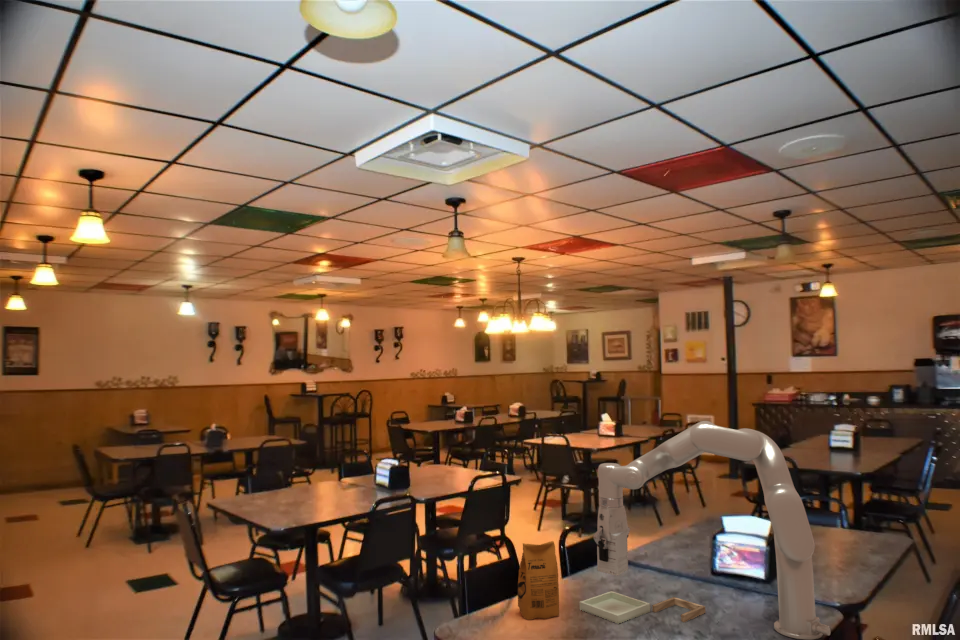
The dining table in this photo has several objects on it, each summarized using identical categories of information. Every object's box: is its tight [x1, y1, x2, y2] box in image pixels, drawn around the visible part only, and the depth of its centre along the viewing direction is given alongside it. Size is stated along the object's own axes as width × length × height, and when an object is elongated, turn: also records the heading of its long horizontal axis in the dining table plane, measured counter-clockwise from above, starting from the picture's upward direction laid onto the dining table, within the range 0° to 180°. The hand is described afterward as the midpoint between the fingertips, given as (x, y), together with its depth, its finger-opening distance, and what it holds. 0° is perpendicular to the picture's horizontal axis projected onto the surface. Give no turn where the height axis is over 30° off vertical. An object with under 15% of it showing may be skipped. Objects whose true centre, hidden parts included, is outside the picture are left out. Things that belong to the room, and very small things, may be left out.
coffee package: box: [517, 540, 560, 621], centre depth 202 cm, size 10×12×22 cm
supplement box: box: [596, 531, 629, 577], centre depth 204 cm, size 7×7×13 cm
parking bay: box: [651, 596, 707, 623], centre depth 200 cm, size 12×12×2 cm
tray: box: [579, 590, 651, 625], centre depth 202 cm, size 16×16×2 cm
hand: (612, 558), depth 204 cm, fingers closed on supplement box, 8 cm apart
